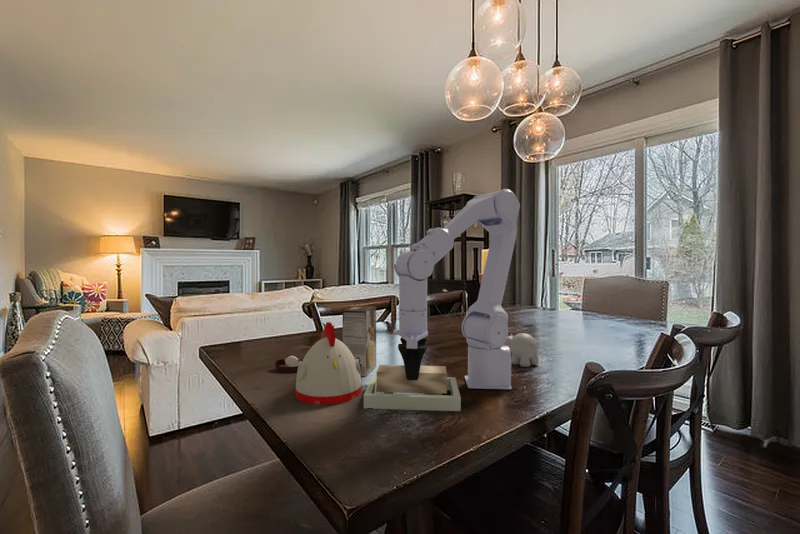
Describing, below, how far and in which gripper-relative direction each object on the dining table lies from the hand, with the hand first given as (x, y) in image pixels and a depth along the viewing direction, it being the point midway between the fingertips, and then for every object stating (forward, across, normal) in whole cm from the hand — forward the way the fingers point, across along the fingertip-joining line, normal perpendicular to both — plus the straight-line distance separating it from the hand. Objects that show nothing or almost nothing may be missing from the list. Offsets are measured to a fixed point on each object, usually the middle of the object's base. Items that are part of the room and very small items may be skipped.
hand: (412, 375), depth 78 cm
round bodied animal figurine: (+5, -29, +28) cm, 41 cm away
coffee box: (+5, -18, -14) cm, 23 cm away
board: (+3, 0, 0) cm, 3 cm away
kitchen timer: (+5, -2, -18) cm, 19 cm away
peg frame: (+5, 0, 0) cm, 5 cm away
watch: (+5, -17, -32) cm, 37 cm away
